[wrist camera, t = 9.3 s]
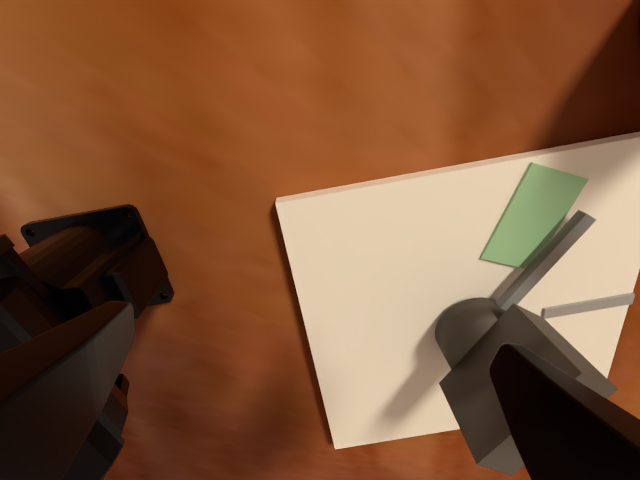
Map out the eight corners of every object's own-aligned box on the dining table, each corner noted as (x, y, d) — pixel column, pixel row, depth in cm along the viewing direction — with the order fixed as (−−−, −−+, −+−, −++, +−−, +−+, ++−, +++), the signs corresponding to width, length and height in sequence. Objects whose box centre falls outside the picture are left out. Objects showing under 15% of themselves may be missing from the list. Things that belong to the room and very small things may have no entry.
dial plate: (334, 437, 28) (335, 451, 27) (276, 197, 19) (274, 204, 18) (589, 395, 28) (600, 408, 27) (662, 127, 18) (685, 129, 17)
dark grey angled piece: (466, 373, 24) (529, 481, 17) (411, 351, 23) (457, 458, 16) (606, 228, 19) (761, 301, 13) (547, 190, 18) (685, 249, 12)
